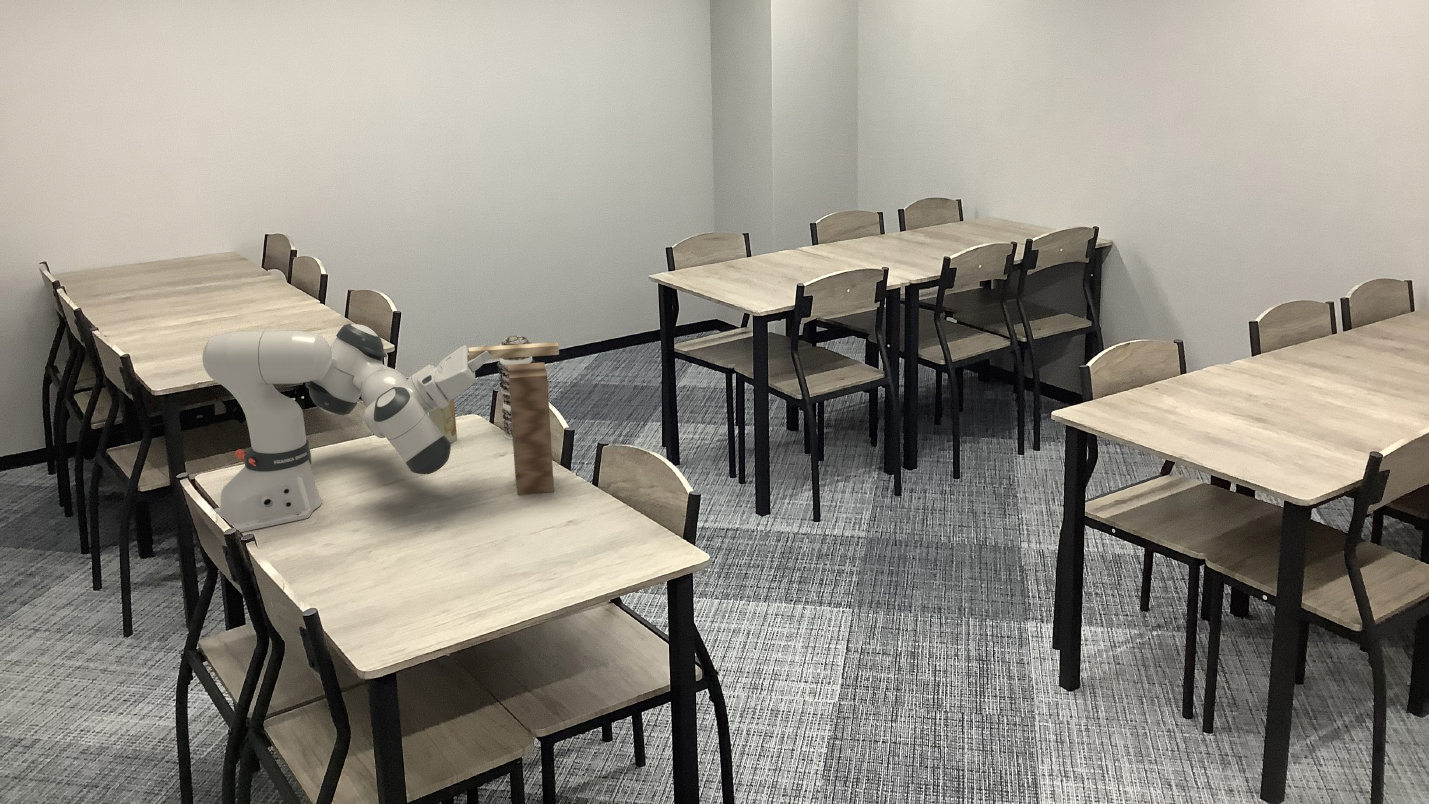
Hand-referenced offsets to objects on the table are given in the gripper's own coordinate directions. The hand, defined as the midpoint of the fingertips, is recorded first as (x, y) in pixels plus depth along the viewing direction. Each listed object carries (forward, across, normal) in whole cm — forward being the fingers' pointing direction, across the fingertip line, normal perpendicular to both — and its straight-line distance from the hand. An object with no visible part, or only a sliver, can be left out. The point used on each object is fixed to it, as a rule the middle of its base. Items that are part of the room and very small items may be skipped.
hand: (489, 350), depth 257 cm
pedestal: (-9, 0, -32) cm, 33 cm away
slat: (+4, 0, -4) cm, 5 cm away
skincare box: (-27, -33, -22) cm, 48 cm away
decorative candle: (-10, -34, -31) cm, 48 cm away
